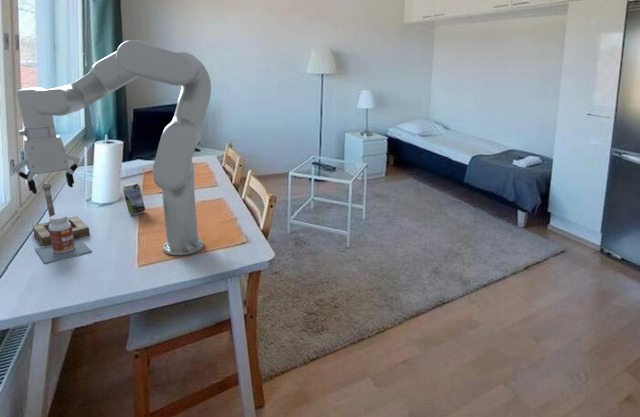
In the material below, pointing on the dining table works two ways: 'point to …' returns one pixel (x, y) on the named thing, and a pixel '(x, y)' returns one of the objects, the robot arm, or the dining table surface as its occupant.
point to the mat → (51, 256)
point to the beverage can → (133, 198)
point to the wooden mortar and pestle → (43, 229)
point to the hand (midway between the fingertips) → (52, 189)
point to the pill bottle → (61, 234)
